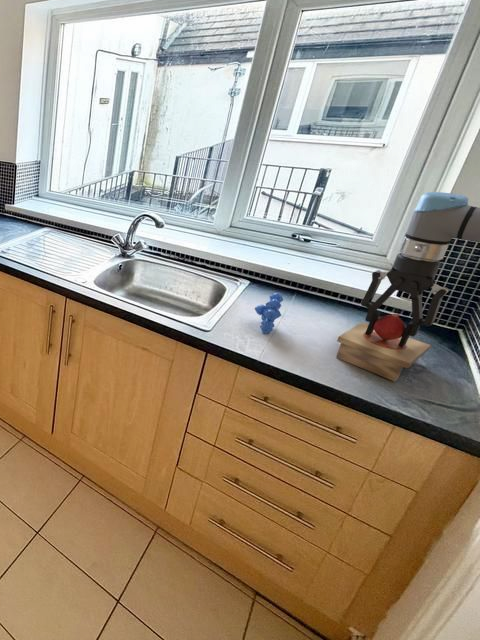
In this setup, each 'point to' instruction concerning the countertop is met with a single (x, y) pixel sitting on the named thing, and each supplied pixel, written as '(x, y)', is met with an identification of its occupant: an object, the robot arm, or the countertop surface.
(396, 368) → the wooden stand red oval
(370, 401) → the countertop surface
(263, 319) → the grapes
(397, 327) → the onion
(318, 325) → the countertop surface
